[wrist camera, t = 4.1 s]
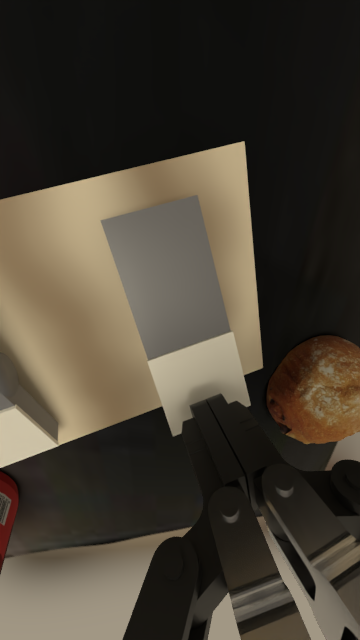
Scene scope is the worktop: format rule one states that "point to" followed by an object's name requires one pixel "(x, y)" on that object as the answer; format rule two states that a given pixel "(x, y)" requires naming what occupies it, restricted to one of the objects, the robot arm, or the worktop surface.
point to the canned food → (7, 512)
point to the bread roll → (317, 391)
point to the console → (112, 284)
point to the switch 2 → (177, 305)
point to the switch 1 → (22, 419)
